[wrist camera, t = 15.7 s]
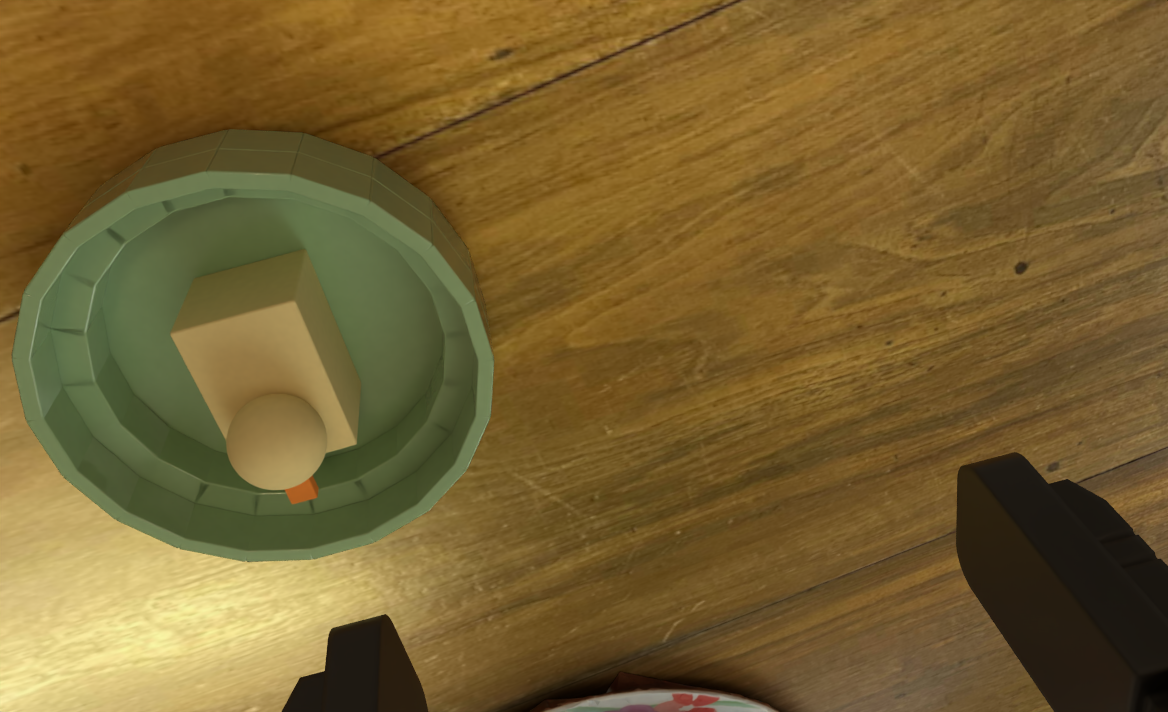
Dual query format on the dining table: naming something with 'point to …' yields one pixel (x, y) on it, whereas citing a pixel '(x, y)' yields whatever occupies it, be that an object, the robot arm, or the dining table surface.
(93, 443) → the green bowl
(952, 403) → the dining table surface
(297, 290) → the duck
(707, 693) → the chocolate cake
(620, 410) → the dining table surface
